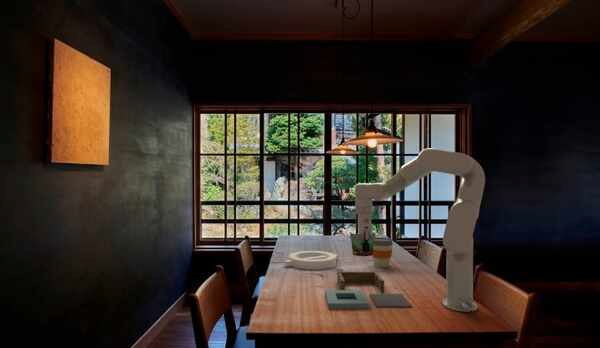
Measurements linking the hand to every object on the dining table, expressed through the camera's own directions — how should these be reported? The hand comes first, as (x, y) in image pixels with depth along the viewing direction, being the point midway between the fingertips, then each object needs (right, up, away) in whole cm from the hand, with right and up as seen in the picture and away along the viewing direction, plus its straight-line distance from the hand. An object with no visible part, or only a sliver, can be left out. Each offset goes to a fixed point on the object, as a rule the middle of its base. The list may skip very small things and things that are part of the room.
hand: (364, 250), depth 158 cm
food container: (0, -2, -1) cm, 3 cm away
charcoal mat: (+8, -18, -15) cm, 24 cm away
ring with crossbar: (-22, -19, +49) cm, 57 cm away
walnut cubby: (-2, -18, +3) cm, 18 cm away
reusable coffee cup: (+18, -19, +44) cm, 51 cm away
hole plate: (-10, -18, -15) cm, 25 cm away
